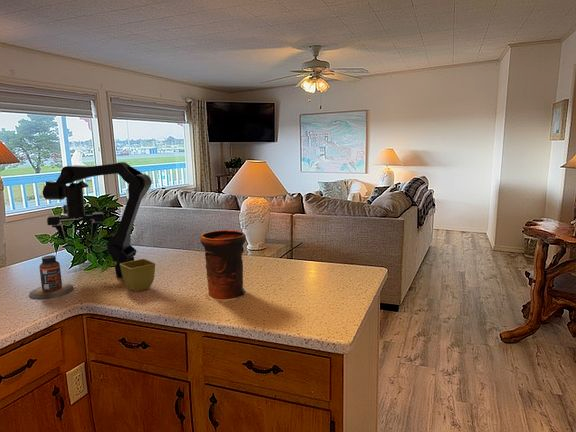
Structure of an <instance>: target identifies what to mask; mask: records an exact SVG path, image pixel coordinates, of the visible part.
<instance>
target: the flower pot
mask: <svg viewBox="0 0 576 432" xmlns="http://www.w3.org/2000/svg"><path fill="white" fill-rule="evenodd" d="M120 268H121V272H122V277H121V278H122V279H123V281H124V283H125V285H126V287H127V288H128V289H130V290H131V291H133V292H136V293H137V292H140V291H143V290H148V289H150V288H151V286H152V285H153V282H154V279H155V272H156V263H155V262H153V261H151V260H148V259H146V258H141V259H134V261H130V262H125V263H121V264H120Z"/></svg>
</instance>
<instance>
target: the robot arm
mask: <svg viewBox="0 0 576 432" xmlns="http://www.w3.org/2000/svg"><path fill="white" fill-rule="evenodd" d="M114 174H118V175H119V176H120V177H121V179H122V180H123V181H124V182H125V183H127V184H128V188H127V191H128V192H127V193H128V198H127V201H126V203H125V204H126V205H125V207H124V210H123V213H122V217H121V219H120V223H119V226H118V227H117V230H116V231H115V232H114V233H112V234H110V235H109V236H108V242H107V243H106V244H105V245H106V246H107V248H106V250H107V251H106V252H108V254H109V255H110V257H111V258H112V261H113V262H114V269H115V271H114V272H115V275H116V276H117V278H123V277H122V272H121V268H120V264H121V263H125V262H130V261H135V256H136V254H137V249H136V248H135V247H134V246H132V245H131V240H132V236H131V232H132V228H133V226H134V222H135V220H136V218H137V214H138V212H139V208H140V205H141V203H142V200H143V198H144V197H145V195H147V194H148V192H149V189H150V188H151V186H152V183H153V181H152V179H151V177H150V176H149V175H148V174H146V173H142V172H141V171H139V170H138V169H136V168H134V167H132V166H131V165H130V164H128V163H127V162H125V161H122V162H121V161H120V162H116V163H111V164H110V163H109V164H100V165H93V166H91V165H90V166H88V165H78V164H77V165H67V166H66V165H65V166H63V167H62V169H61V171H60V174H59V176H58V177H57V179H56V181H52V180H47V181H45V185H44V186H43V189H42V196H43V198H44V199H45V200H53V201H55V200H56V201H59V200H61V201H63V200H65V201H66V202H65V203H66V204H63V214H64V215H67V216H61V215H60V214H53V215H52V214H51V215H48V217H47V218H46V223H47V226H51V227H52V228H55V230H57V232H58V233H59V235H60V237H61V239H62V241H63V242H64V244H65V243H66V242H67V241H66V236H65V231H64V227H63V223H64V222H65V223H67V222H78V221H80V222H81V221H90V220H91V235H90V236H91V241H94V237H95V234H96V230H97V228H98V226H99V225H101V224H102V222H105V221H106V220H105V213H104V212H103V211H98V212H96V211H95V212H92V214H87V215H86V208H85V202H84V201H85V199H84V189H85V188H89V185H88V184H87V183H86V182H85V181H84V180H86V179H88V178H91V177H97V176H106V175H114ZM92 220H93V221H92Z"/></svg>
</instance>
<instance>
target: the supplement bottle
mask: <svg viewBox="0 0 576 432" xmlns="http://www.w3.org/2000/svg"><path fill="white" fill-rule="evenodd" d="M41 261H42V262H41V263H40V264H39V274H40V276H39V277H40V283H41V287H42V290H43V291H46V292H50V291H56V290H59V289H60V288H62V283H63V281H62V280H63V279H62V272H61V265H60V262H59V261H57V256H56V255H51V254H50V255H45V256H42V257H41Z"/></svg>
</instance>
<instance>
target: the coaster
mask: <svg viewBox="0 0 576 432" xmlns="http://www.w3.org/2000/svg"><path fill="white" fill-rule="evenodd" d="M72 291H74V285H73V284H70V283H64V282H62V288H60V289H59V290H56V291H50V292H46V291H43V290H42V286H39V287H36V288H35V289H33V290H31V291H29V292H28V295H29V296H28V297H29V298H31V299H35V300H46V299H52V298H57V297H61V296H65V295H67V294H69V293H71V292H72Z"/></svg>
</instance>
